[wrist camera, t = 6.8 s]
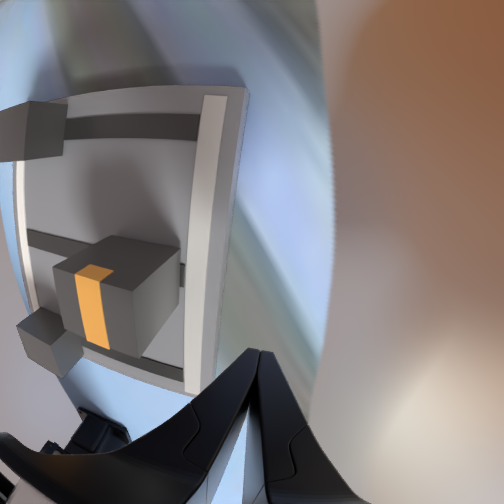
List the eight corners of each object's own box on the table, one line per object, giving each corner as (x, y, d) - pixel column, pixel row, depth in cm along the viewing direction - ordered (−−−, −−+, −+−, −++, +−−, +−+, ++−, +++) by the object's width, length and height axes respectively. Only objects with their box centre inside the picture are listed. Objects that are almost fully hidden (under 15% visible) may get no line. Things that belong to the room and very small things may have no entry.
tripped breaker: (179, 304, 14) (138, 360, 9) (114, 287, 14) (64, 330, 10) (181, 247, 13) (131, 291, 8) (111, 234, 13) (51, 266, 9)
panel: (213, 389, 17) (197, 437, 13) (45, 326, 19) (15, 352, 15) (249, 93, 11) (230, 64, 7) (29, 109, 13) (-16, 110, 9)
